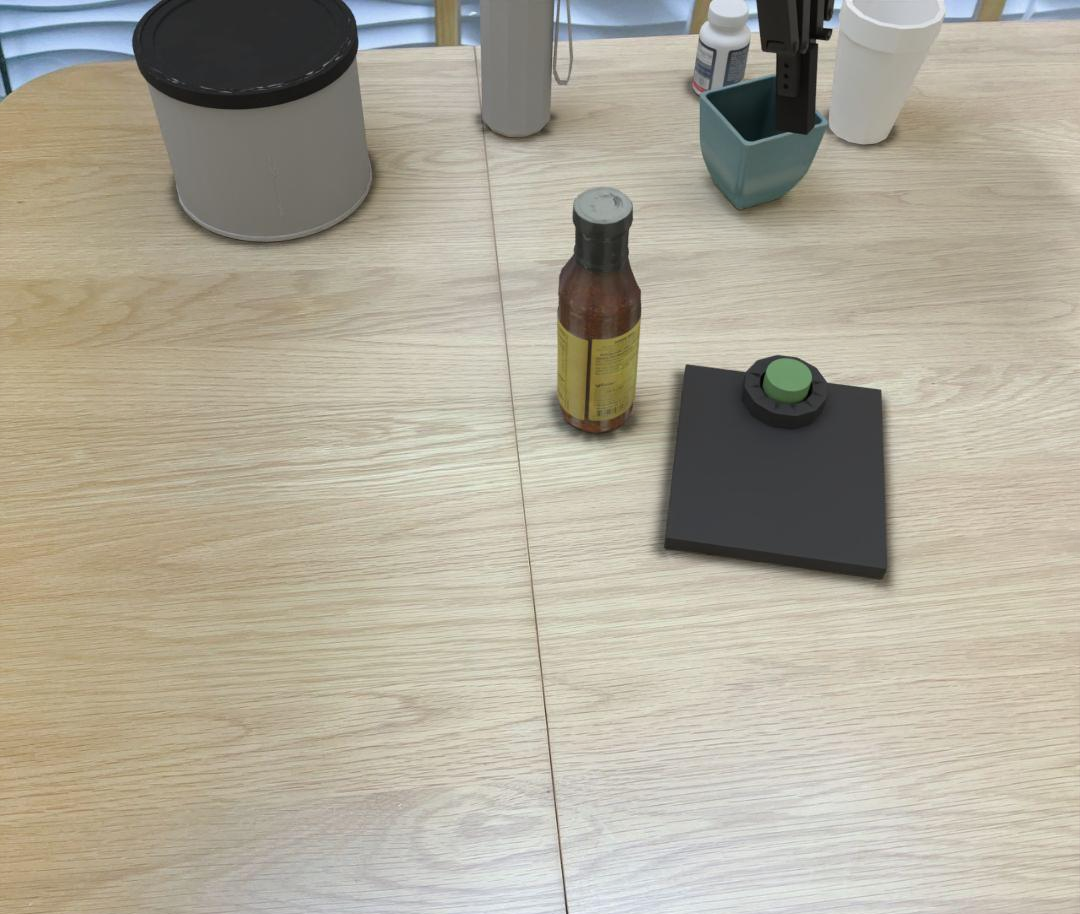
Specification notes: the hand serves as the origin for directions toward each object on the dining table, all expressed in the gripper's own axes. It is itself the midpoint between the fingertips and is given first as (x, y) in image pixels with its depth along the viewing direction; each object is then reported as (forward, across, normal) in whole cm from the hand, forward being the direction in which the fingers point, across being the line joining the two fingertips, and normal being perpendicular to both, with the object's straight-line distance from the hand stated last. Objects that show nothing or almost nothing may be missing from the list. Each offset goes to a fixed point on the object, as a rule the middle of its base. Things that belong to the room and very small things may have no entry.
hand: (794, 128), depth 87 cm
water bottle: (+8, -8, -33) cm, 35 cm away
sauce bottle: (+15, +22, -7) cm, 27 cm away
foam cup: (+14, -27, -5) cm, 31 cm away
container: (+6, +14, -47) cm, 49 cm away
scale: (+18, +19, +8) cm, 27 cm away
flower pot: (+13, -11, -10) cm, 20 cm away
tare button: (+14, +13, +6) cm, 21 cm away
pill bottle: (+10, -25, -20) cm, 33 cm away
